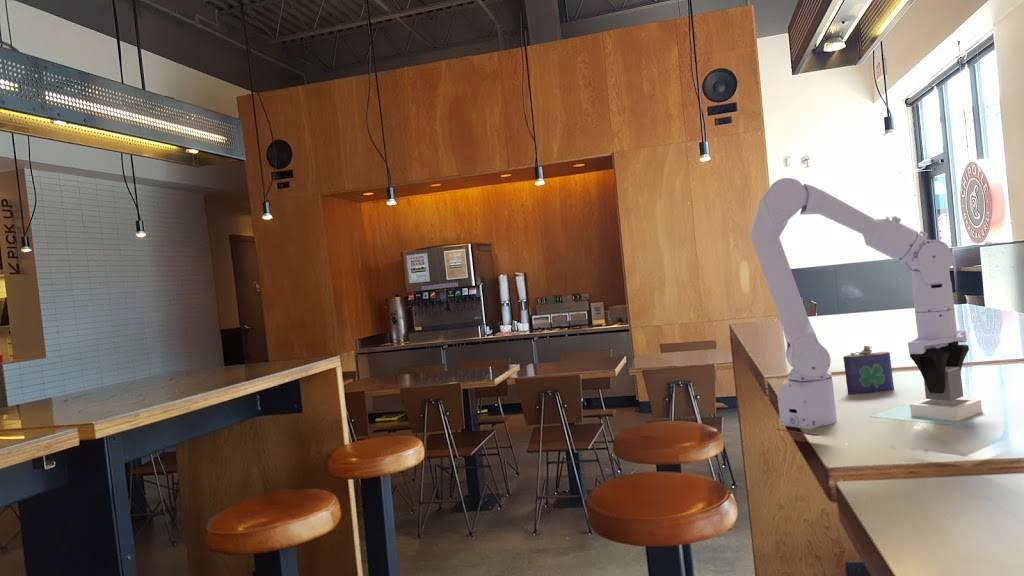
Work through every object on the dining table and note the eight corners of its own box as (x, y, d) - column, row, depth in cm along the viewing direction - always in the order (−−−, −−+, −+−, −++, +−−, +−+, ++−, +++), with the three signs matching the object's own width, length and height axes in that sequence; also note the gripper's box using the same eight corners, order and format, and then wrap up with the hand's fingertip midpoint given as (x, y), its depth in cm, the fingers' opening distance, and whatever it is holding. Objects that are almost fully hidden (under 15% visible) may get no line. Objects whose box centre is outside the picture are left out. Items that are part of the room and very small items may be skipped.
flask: (891, 393, 143) (885, 342, 143) (898, 396, 140) (892, 343, 140) (846, 398, 143) (840, 347, 143) (852, 401, 140) (846, 348, 140)
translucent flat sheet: (948, 432, 110) (948, 424, 110) (870, 423, 121) (869, 416, 121) (983, 418, 116) (982, 411, 116) (905, 411, 127) (905, 404, 127)
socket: (958, 420, 112) (957, 408, 112) (911, 415, 118) (909, 404, 118) (982, 411, 115) (980, 399, 115) (935, 407, 122) (933, 396, 122)
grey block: (950, 400, 114) (947, 370, 114) (926, 398, 117) (922, 369, 117) (963, 396, 116) (960, 366, 116) (938, 394, 119) (935, 365, 119)
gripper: (936, 315, 110) (945, 400, 110) (981, 304, 117) (991, 384, 117) (892, 316, 116) (901, 396, 116) (938, 306, 123) (947, 381, 123)
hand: (943, 390), depth 117 cm, fingers closed on grey block, 4 cm apart
